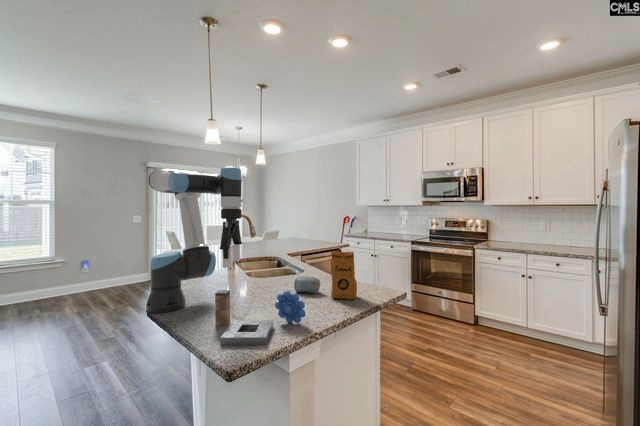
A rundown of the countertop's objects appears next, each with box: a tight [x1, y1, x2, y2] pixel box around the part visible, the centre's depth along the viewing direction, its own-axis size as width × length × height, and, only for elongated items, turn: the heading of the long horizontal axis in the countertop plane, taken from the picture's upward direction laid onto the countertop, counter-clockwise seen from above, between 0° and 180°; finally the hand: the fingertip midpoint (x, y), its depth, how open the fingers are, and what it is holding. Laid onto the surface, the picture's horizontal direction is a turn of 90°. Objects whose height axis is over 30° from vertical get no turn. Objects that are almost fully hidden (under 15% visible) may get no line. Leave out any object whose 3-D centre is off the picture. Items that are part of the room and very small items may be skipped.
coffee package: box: [330, 251, 358, 300], centre depth 138 cm, size 10×12×22 cm
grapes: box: [274, 290, 306, 324], centre depth 106 cm, size 12×7×12 cm, turn 79°
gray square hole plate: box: [219, 319, 274, 347], centre depth 97 cm, size 14×14×2 cm
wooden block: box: [214, 289, 231, 327], centre depth 107 cm, size 4×4×12 cm
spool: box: [293, 275, 321, 295], centre depth 147 cm, size 14×10×10 cm
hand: (231, 264), depth 110 cm, fingers open, 13 cm apart
